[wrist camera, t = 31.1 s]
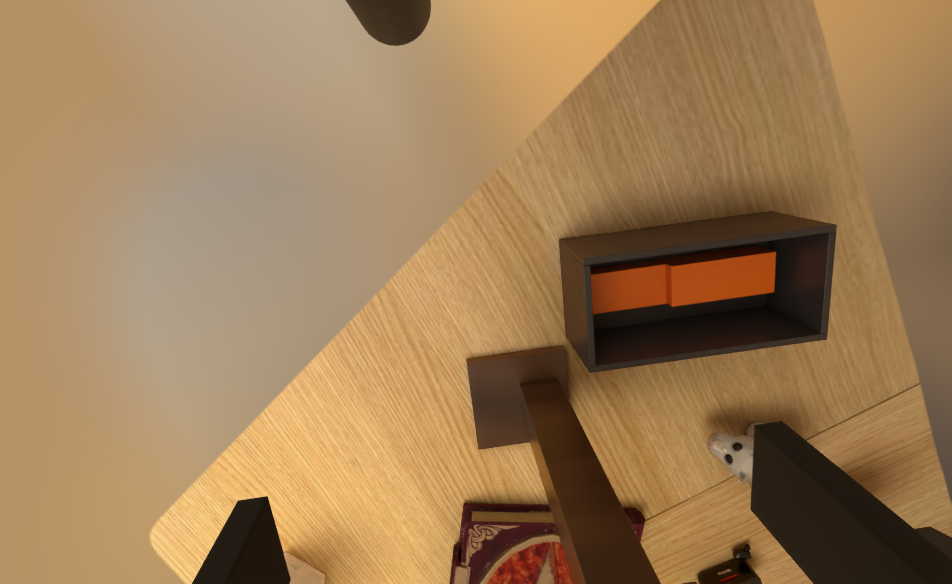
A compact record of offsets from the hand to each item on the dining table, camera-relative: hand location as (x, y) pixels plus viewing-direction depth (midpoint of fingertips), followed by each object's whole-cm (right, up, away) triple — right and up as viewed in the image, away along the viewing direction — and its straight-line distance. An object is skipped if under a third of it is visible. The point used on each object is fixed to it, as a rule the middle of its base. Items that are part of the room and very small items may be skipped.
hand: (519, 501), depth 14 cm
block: (+17, +7, +37) cm, 41 cm away
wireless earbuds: (+29, -28, +49) cm, 63 cm away
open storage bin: (+18, +7, +38) cm, 42 cm away
